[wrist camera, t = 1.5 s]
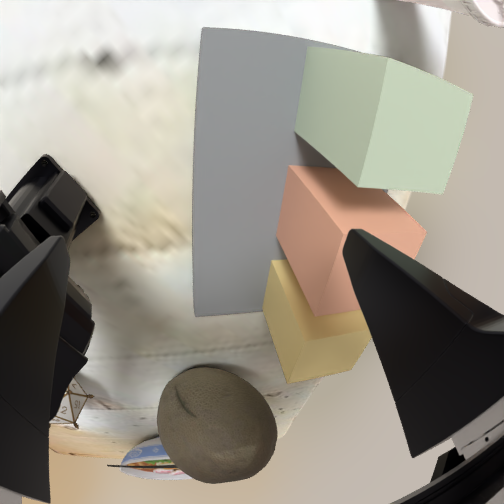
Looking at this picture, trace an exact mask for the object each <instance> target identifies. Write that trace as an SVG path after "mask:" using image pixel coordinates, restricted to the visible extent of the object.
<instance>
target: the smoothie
mask: <svg viewBox="0 0 504 504" xmlns="http://www.w3.org/2000/svg"><path fill="white" fill-rule="evenodd" d="M398 1H405V2H411V3H417V4H422V5H427V6H432V7H437V8H441V9H446V10H450V11H454V12H458V13H461V14H465V15H468V16H472V17H473V18H474V19H476V20H477V21H478V22H479V23H481V24H484V25H486V26H496V27H500V28H504V0H398Z"/></svg>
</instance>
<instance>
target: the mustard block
mask: <svg viewBox="0 0 504 504" xmlns="http://www.w3.org/2000/svg"><path fill="white" fill-rule="evenodd" d="M262 309H263V312H264V315H265V318H266V321H267V324H268V327H269V330H270V333H271V336H272V339H273V342H274V345H275V349H276V352H277V355H278V357H279V360H280V363H281V366H282V369H283V372H284V375H285V378H286V381H287V384H289V383H294V382H300V381H305V380H310V379H314V378H319V377H323V376H328V375H332V374H336V373H341V372H345V371H349V370H351V369H352V368H353V366H354V365H355V363H356V362H357V360H358V358H359V357H360V355H361V354H362V352H363V351H364V349H365V348H366V346H367V344H368V343H369V341H370V340H371V338H372V336H371V334H370V331H369V328H368V326H367V323H366V321H365V318H364V316H363V313H362V311H361V310H355V311H349V312H342V313H336V314H329V315H323V316H316V317H315V316H314V314H313V312H312V310H311V308H310V306H309V303H308V301H307V299H306V297H305V295H304V293H303V291H302V289H301V286H300V284H299V282H298V280H297V278H296V276H295V274H294V272H293V270H292V268H291V266H290V263H289V261H288V259H286V260H271V265H270V270H269V276H268V281H267V286H266V291H265V296H264V302H263V307H262Z"/></svg>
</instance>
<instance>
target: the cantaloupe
mask: <svg viewBox="0 0 504 504" xmlns="http://www.w3.org/2000/svg"><path fill="white" fill-rule="evenodd" d="M157 426H158V433H159V437H160V440H161V443H162V445H163V448H164V450H165V451H166V453H167V455H168V456H169V458H170V459H171V461H172V462H173V463H174V464H175V465H176V466H177V467H178V468H179V469H180V470H181V471H182V472H184V473H185V474H187V475H188V476H190V477H192V478H194V479H196V480H199V481H201V482H205V483H211V484H216V483H224V482H232V481H238V480H243V479H247V478H250V477H252V476H254V475H255V474H257V473H258V472H259V471H260V470H262V469H263V468H264V467H265V466H266V465H267V463H268V462H269V460H270V459H271V457H272V455H273V453H274V450H275V446H276V441H277V426H276V422H275V418H274V416H273V413H272V411H271V409H270V407H269V405H268V403H267V402H266V400H265V399H264V397H263V396H262V395H261V394H260V393H259V392H258V390H256V389H255V388H254V387H253V386H252V385H251V384H249V383H248V382H247V381H245V380H244V379H242V378H240V377H238V376H237V375H235V374H232V373H230V372H227V371H224V370H220V369H215V368H208V367H200V368H194V369H190V370H187V371H185V372H183V373H181V374H180V375H178V376H176V377H175V378H173V379H172V380H171V381H169V382H168V384H167V385H166V386H165V388H164V390H163V392H162V395H161V398H160V402H159V407H158V414H157Z"/></svg>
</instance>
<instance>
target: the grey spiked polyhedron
mask: <svg viewBox="0 0 504 504" xmlns="http://www.w3.org/2000/svg"><path fill="white" fill-rule="evenodd" d="M93 397H94V396H93V395H90V394H89V395H87V394H86V393H85V391H84V390H83V389H82V387H81V386H80V385H79V383H78V382H77V381H76V379H75V378H73V380H72V381H71V383H70V384H69V386H68V388H67V390H66V392H65V394H64V397H63V399H62V402H61V405H60V407H59V410H58V413H57V415H56V416H55V417H54V418H53V419H52V420H51V421H50V422H49V428H50V424H74V426H75V428H78V429H79V427H78V425H77V423H76V421H77V419H78V416H79V414H80V412H81V410H82V408H83V406H84V404H85V402H86V400H87V398H93Z"/></svg>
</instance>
